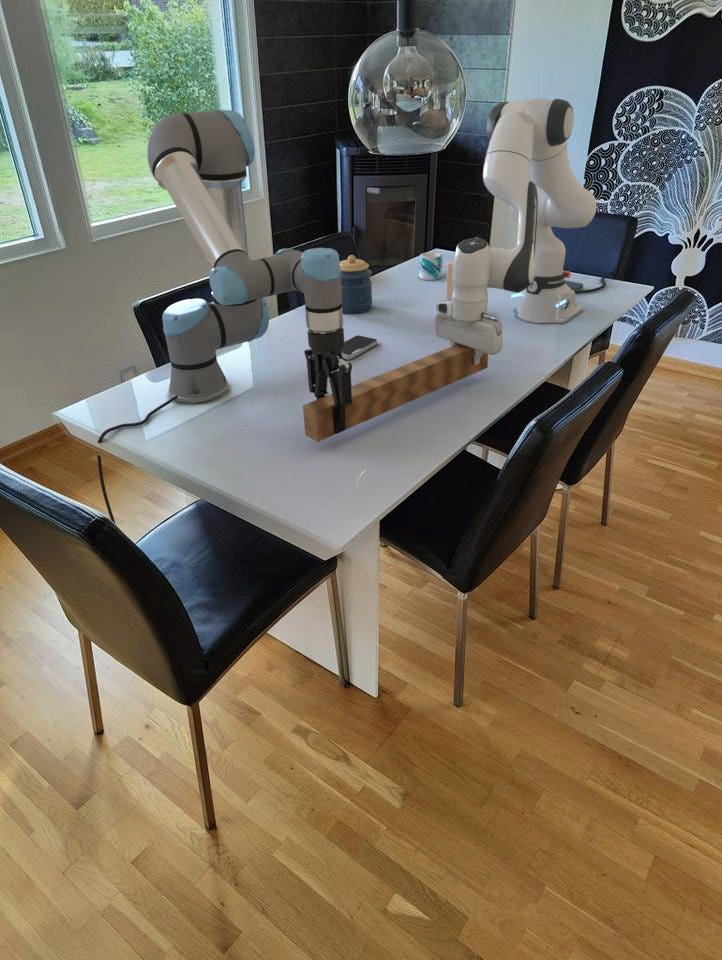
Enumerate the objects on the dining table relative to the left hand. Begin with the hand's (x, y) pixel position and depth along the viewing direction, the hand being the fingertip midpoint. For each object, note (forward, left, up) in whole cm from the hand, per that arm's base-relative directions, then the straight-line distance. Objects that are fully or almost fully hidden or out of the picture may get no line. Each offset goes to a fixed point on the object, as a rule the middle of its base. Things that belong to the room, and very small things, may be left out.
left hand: (332, 427), depth 151 cm
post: (+22, -5, -1) cm, 23 cm away
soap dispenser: (+94, +19, -4) cm, 96 cm away
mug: (+122, +50, -4) cm, 132 cm away
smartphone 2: (+133, +3, -4) cm, 133 cm away
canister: (+76, +53, -4) cm, 93 cm away
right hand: (+44, -9, +2) cm, 45 cm away
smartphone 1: (+46, +30, -4) cm, 55 cm away
